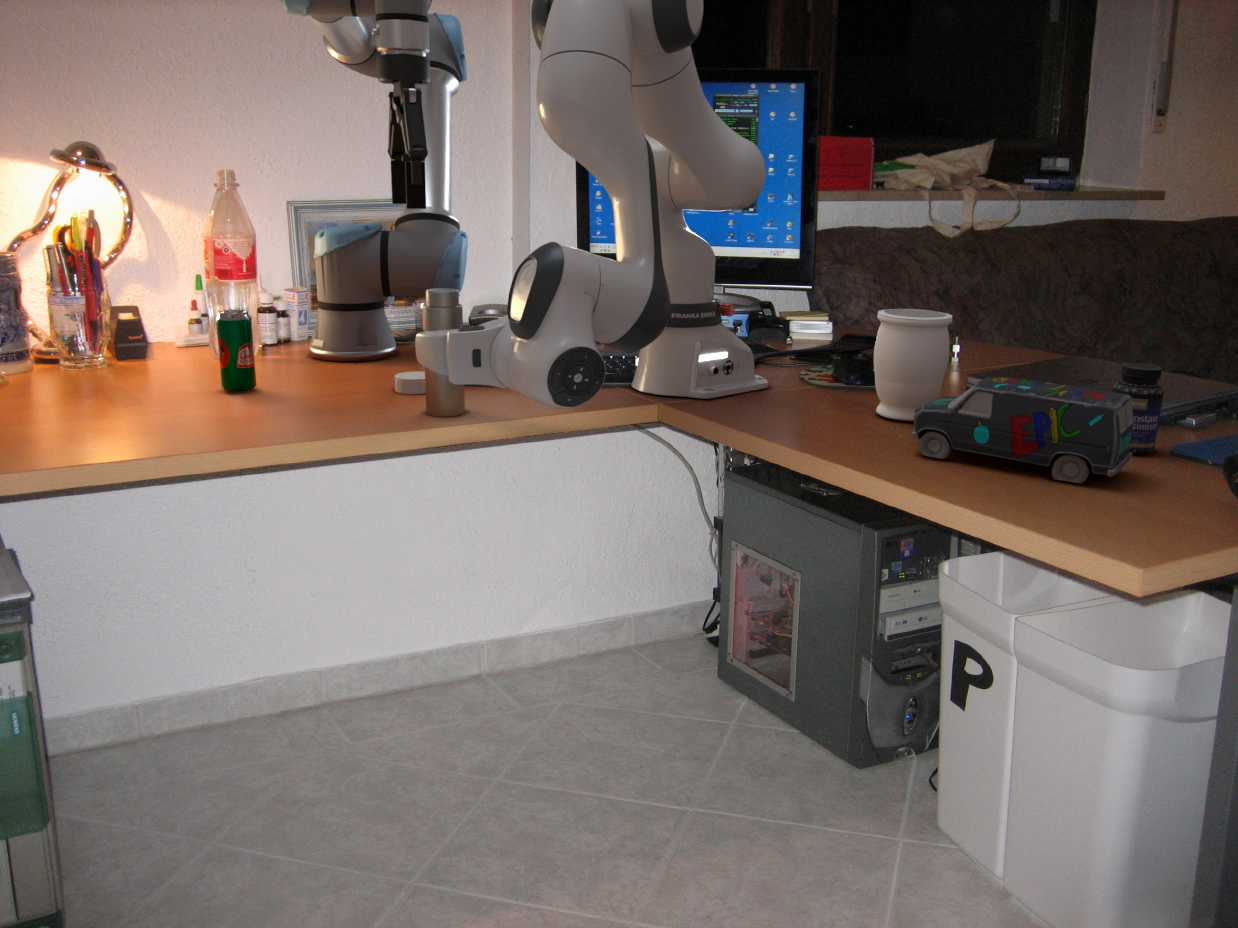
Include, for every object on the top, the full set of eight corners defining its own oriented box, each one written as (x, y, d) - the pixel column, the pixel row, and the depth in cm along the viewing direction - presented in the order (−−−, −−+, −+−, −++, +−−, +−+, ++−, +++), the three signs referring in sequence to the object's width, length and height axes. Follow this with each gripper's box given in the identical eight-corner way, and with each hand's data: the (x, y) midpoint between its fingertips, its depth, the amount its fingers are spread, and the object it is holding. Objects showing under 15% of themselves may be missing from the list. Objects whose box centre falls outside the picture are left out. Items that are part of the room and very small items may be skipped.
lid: (386, 390, 166) (385, 375, 166) (414, 384, 171) (414, 369, 171) (415, 396, 163) (414, 381, 162) (443, 389, 168) (443, 374, 168)
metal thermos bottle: (469, 409, 156) (467, 288, 151) (457, 417, 151) (454, 293, 146) (434, 406, 157) (430, 287, 152) (420, 415, 152) (416, 291, 147)
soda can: (245, 393, 162) (239, 314, 158) (215, 391, 163) (208, 313, 159) (262, 387, 166) (257, 310, 163) (233, 385, 167) (226, 308, 164)
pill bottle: (1117, 454, 138) (1130, 370, 135) (1094, 442, 144) (1106, 361, 140) (1163, 454, 138) (1177, 370, 135) (1139, 442, 144) (1152, 361, 141)
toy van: (934, 436, 145) (942, 364, 142) (1131, 470, 131) (1144, 390, 128) (905, 453, 136) (913, 376, 134) (1112, 490, 123) (1125, 406, 120)
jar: (854, 409, 159) (862, 309, 155) (910, 404, 163) (920, 306, 159) (898, 426, 150) (909, 320, 146) (957, 420, 154) (969, 317, 150)
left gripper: (365, 59, 164) (371, 202, 170) (389, 46, 141) (396, 211, 147) (414, 62, 166) (419, 202, 172) (446, 49, 144) (450, 211, 150)
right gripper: (593, 319, 133) (545, 304, 145) (438, 333, 124) (399, 315, 135) (593, 369, 135) (546, 350, 147) (440, 386, 126) (402, 364, 137)
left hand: (408, 206), depth 160 cm, fingers open, 13 cm apart
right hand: (474, 333), depth 141 cm, fingers open, 8 cm apart
